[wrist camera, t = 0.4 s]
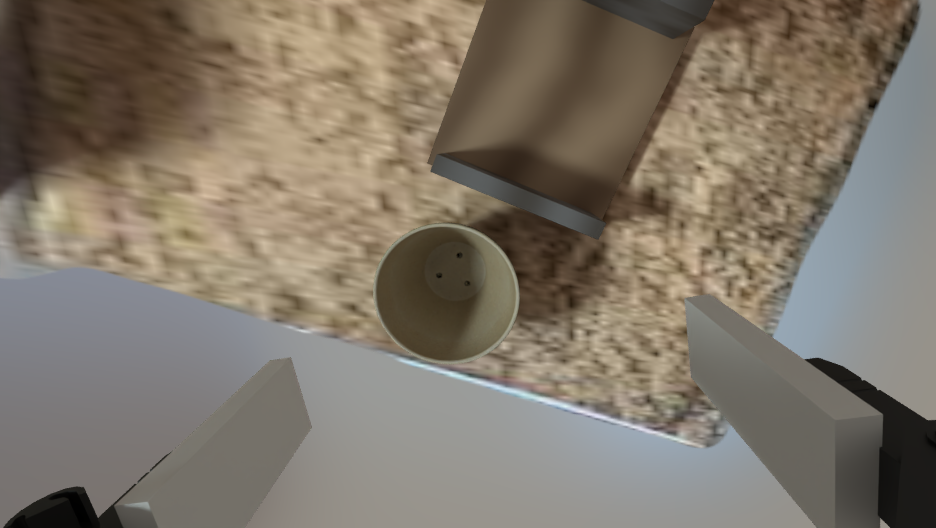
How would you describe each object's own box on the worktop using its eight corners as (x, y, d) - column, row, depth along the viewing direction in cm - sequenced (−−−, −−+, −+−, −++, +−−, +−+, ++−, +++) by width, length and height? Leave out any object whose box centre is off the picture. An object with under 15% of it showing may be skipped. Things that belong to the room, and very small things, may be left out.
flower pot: (520, 213, 36) (526, 229, 29) (510, 330, 39) (513, 370, 32) (396, 205, 37) (373, 218, 30) (393, 321, 39) (372, 358, 32)
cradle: (429, 162, 36) (416, 165, 30) (505, -48, 32) (507, -91, 26) (593, 229, 36) (612, 245, 30) (688, 30, 32) (730, 5, 27)
